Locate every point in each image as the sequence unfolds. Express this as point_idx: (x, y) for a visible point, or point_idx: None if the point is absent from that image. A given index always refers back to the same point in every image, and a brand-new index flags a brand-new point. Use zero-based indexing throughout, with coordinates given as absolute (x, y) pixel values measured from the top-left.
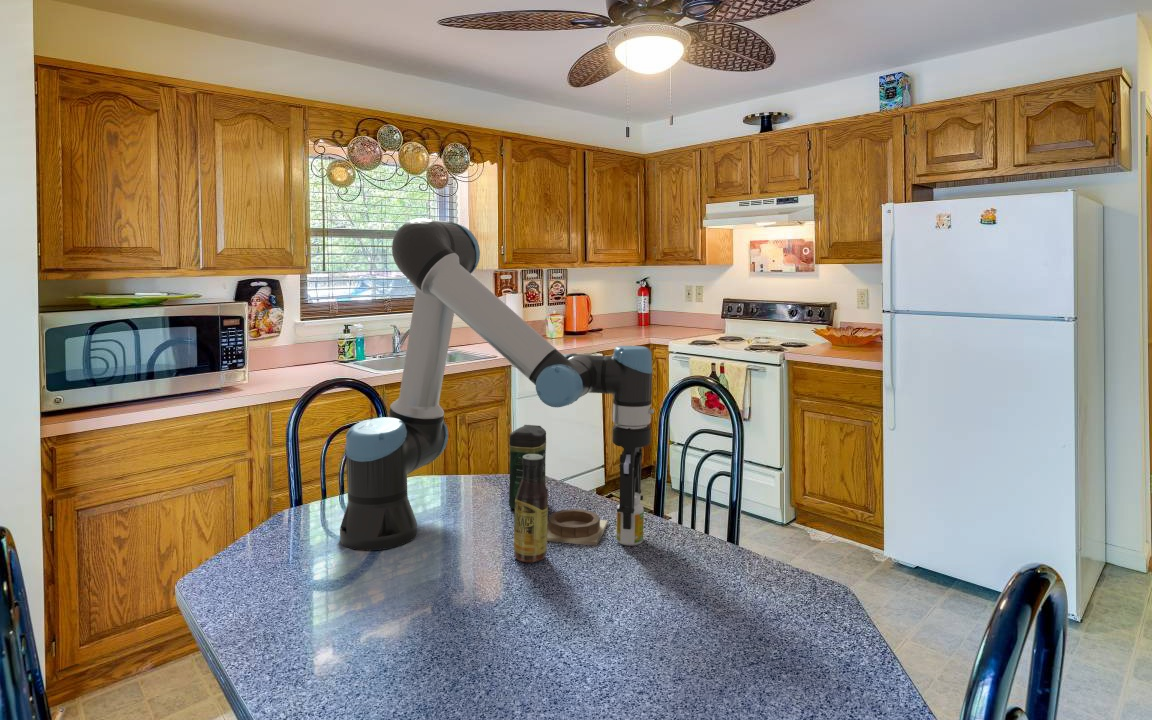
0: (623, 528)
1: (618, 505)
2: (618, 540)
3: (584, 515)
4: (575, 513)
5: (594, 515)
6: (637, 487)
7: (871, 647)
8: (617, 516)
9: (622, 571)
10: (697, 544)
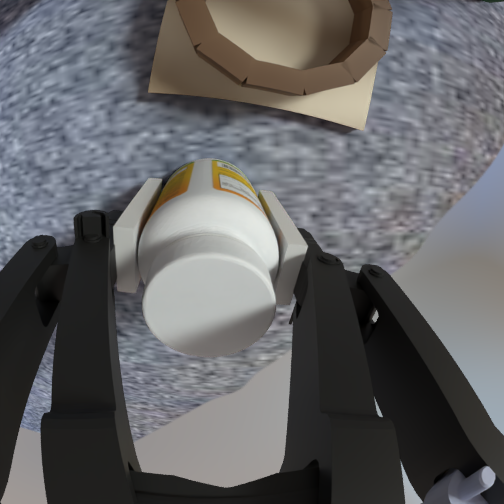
0: (112, 212)
1: (201, 208)
2: (179, 168)
3: (357, 43)
4: (367, 14)
5: (330, 74)
6: (293, 357)
7: (20, 424)
8: (182, 187)
9: (10, 201)
10: (212, 358)
